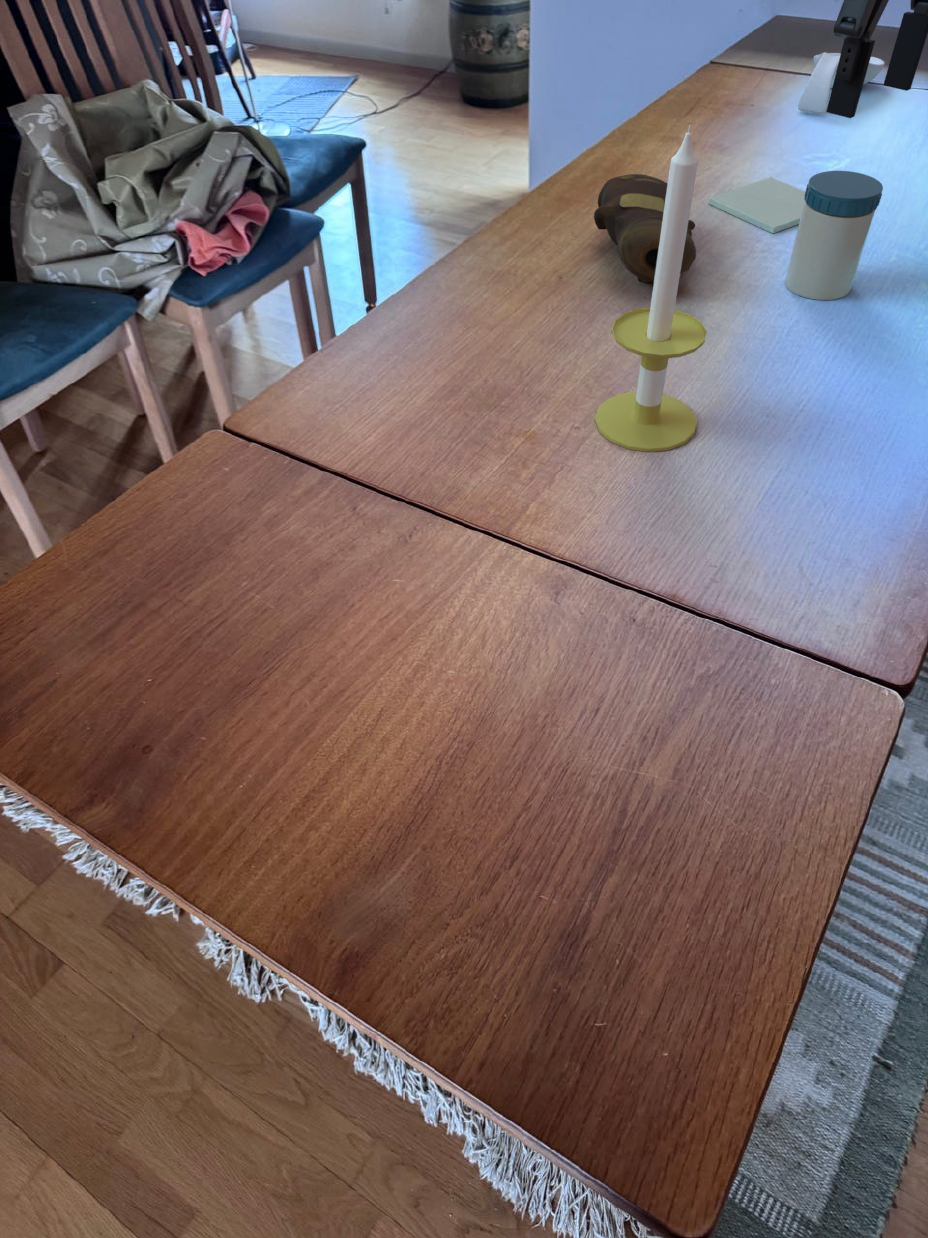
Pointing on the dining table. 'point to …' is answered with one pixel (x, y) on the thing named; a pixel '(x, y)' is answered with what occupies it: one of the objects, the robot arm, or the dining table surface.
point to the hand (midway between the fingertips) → (869, 100)
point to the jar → (826, 254)
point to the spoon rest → (829, 81)
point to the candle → (658, 333)
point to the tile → (764, 204)
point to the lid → (843, 193)
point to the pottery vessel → (638, 222)
